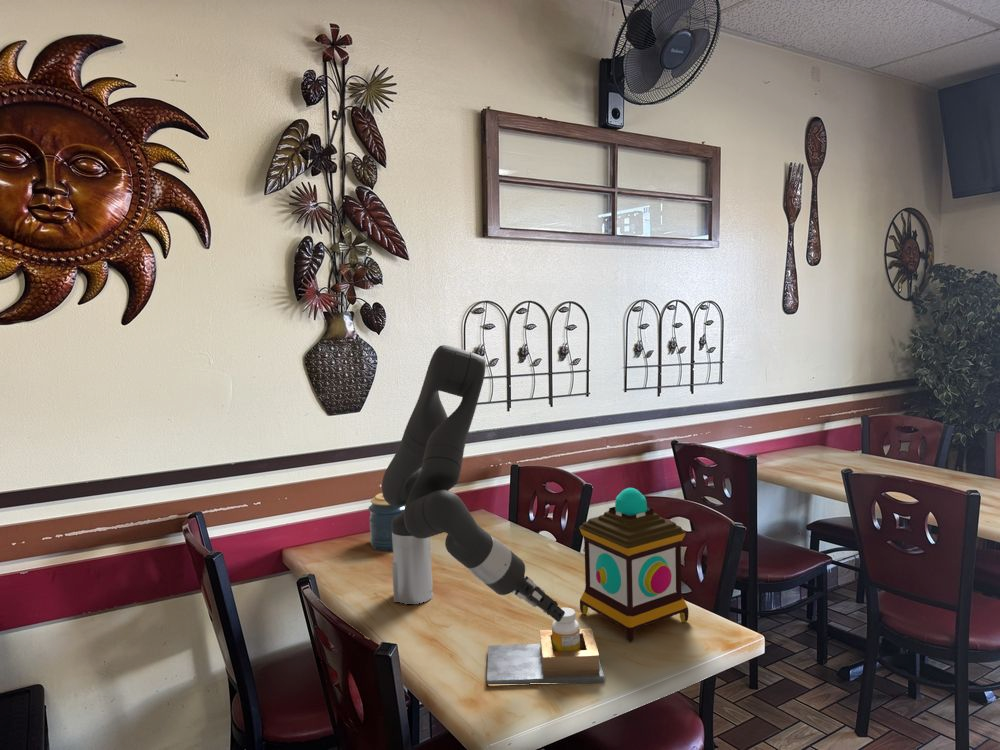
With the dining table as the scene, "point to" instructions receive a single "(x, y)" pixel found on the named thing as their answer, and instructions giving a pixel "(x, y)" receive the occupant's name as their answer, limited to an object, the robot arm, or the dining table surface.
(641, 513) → the decorative lantern
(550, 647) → the jig
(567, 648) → the supplement bottle
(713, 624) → the dining table surface
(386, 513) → the canister
